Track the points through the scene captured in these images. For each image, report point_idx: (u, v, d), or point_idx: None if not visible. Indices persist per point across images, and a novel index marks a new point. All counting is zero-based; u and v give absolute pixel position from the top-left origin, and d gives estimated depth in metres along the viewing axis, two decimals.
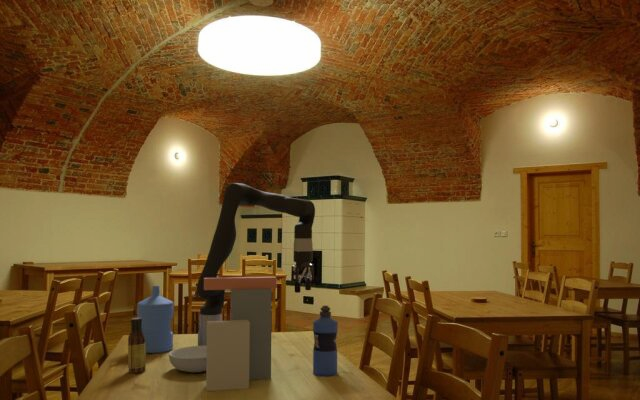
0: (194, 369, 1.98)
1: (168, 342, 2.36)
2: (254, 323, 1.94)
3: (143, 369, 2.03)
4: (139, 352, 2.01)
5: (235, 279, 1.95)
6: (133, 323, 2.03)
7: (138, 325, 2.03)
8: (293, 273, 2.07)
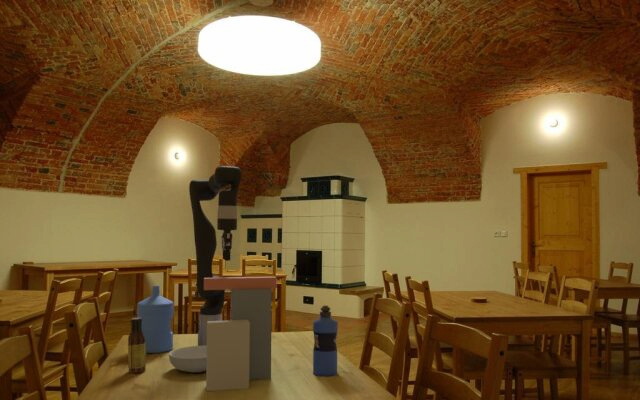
0: (194, 369, 1.98)
1: (168, 342, 2.36)
2: (254, 323, 1.94)
3: (143, 369, 2.03)
4: (139, 352, 2.01)
5: (235, 279, 1.95)
6: (133, 323, 2.03)
7: (138, 325, 2.03)
8: None
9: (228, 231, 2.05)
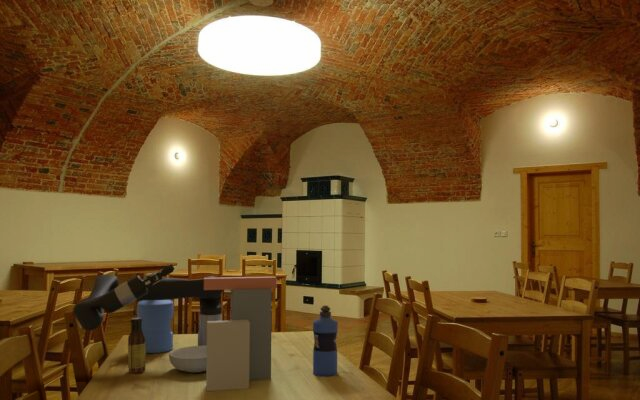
0: (194, 369, 1.98)
1: (168, 342, 2.36)
2: (254, 323, 1.94)
3: (143, 369, 2.03)
4: (139, 352, 2.01)
5: (235, 279, 1.95)
6: (133, 323, 2.03)
7: (138, 325, 2.03)
8: None
9: (143, 283, 1.89)
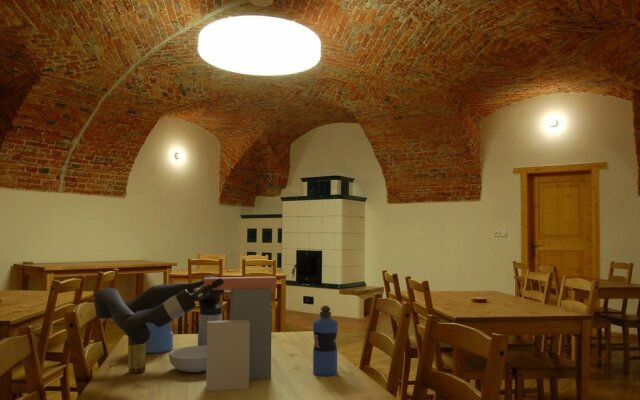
0: (194, 369, 1.98)
1: (168, 342, 2.36)
2: (254, 323, 1.94)
3: (143, 369, 2.03)
4: (139, 352, 2.01)
5: (235, 279, 1.95)
6: None
7: None
8: None
9: (192, 297, 1.90)
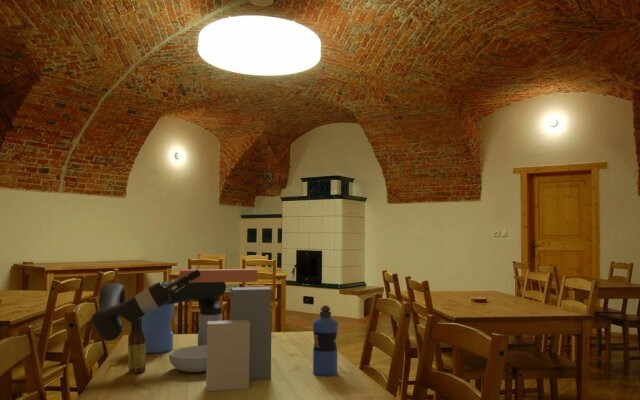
0: (194, 369, 1.98)
1: (168, 342, 2.36)
2: (254, 323, 1.94)
3: (143, 369, 2.03)
4: (139, 352, 2.01)
5: (213, 272, 1.83)
6: (133, 323, 2.03)
7: (138, 325, 2.03)
8: None
9: (166, 290, 1.77)
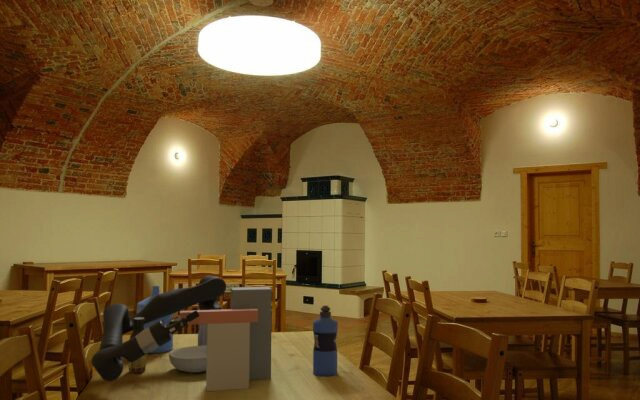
0: (194, 369, 1.98)
1: (168, 342, 2.36)
2: (254, 323, 1.94)
3: (143, 369, 2.03)
4: None
5: (213, 313, 1.82)
6: (135, 323, 2.02)
7: (140, 325, 2.02)
8: None
9: (167, 330, 1.77)
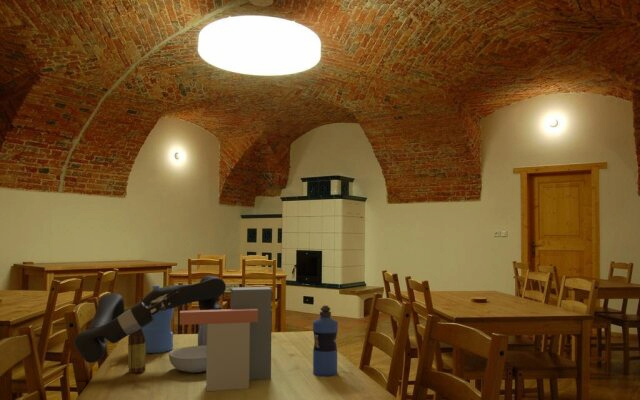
0: (194, 369, 1.98)
1: (168, 342, 2.36)
2: (254, 323, 1.94)
3: (143, 369, 2.03)
4: (139, 352, 2.02)
5: (213, 313, 1.82)
6: None
7: None
8: None
9: (148, 311, 1.79)
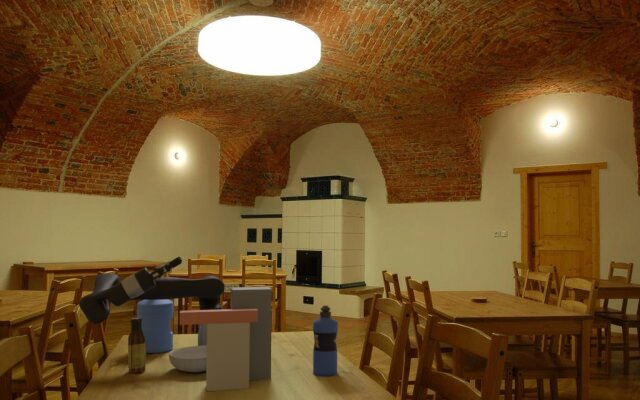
0: (194, 369, 1.98)
1: (168, 342, 2.36)
2: (254, 323, 1.94)
3: (143, 369, 2.03)
4: (139, 352, 2.02)
5: (213, 313, 1.82)
6: (133, 323, 2.03)
7: (138, 325, 2.03)
8: None
9: (151, 275, 1.85)
